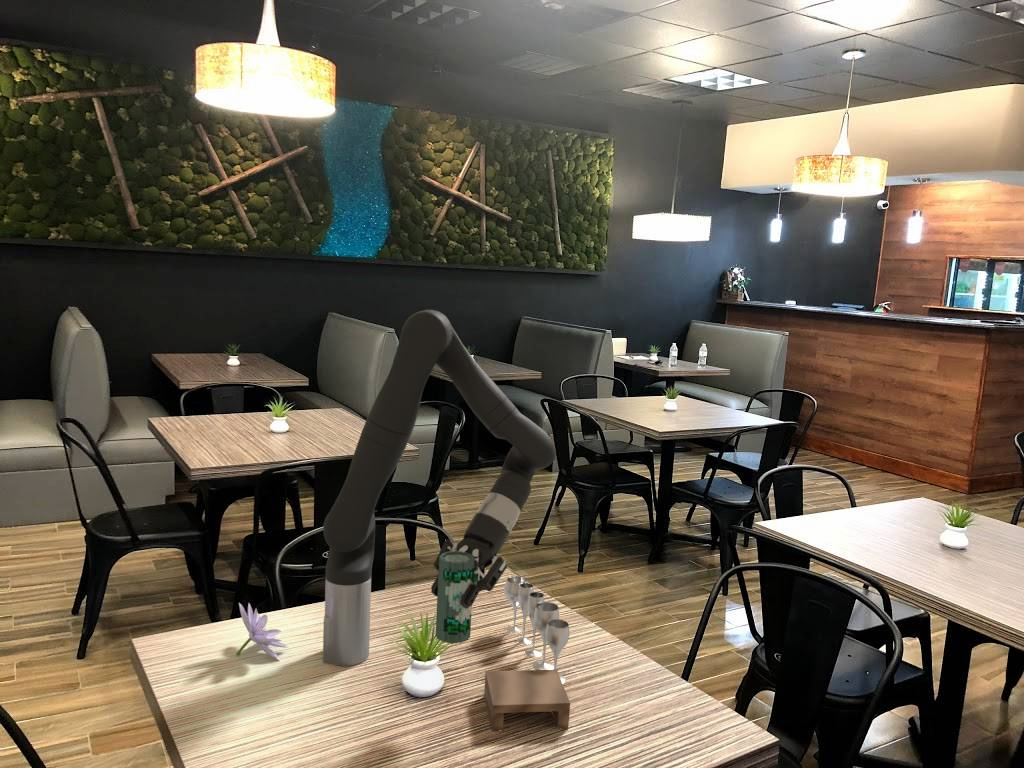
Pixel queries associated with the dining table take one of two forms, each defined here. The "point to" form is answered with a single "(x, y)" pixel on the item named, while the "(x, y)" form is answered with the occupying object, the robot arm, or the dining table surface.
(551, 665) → the goblet set
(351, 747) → the dining table surface
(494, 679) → the walnut shelf
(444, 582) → the can
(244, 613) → the water lily
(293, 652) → the dining table surface
